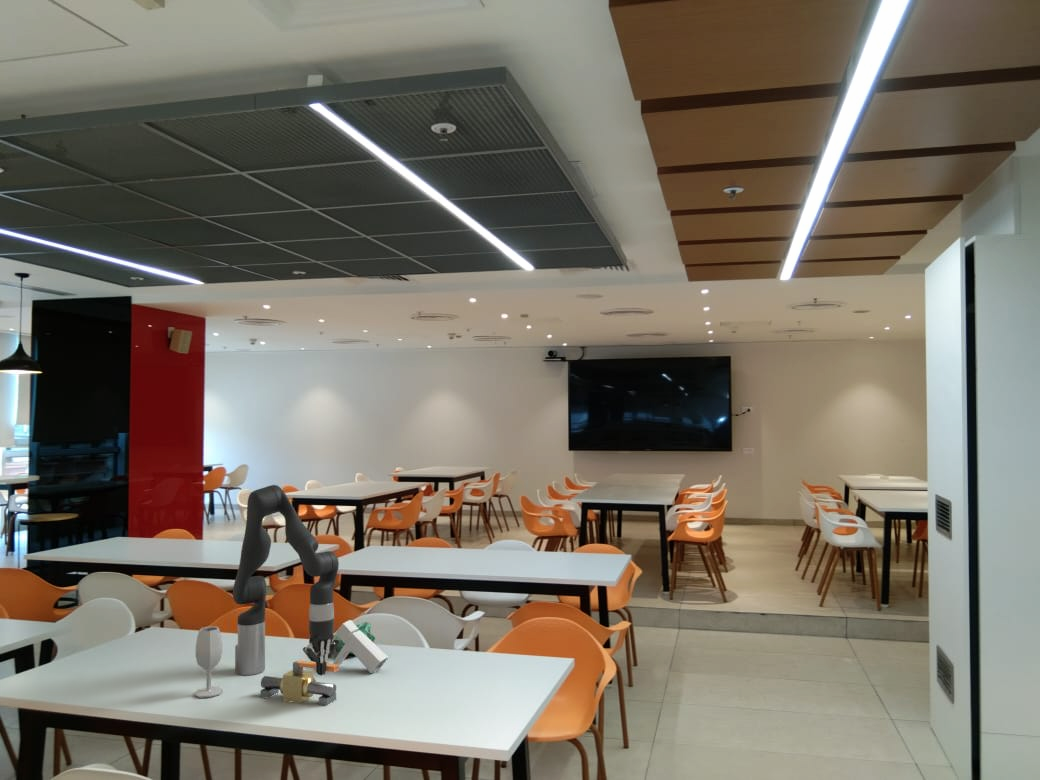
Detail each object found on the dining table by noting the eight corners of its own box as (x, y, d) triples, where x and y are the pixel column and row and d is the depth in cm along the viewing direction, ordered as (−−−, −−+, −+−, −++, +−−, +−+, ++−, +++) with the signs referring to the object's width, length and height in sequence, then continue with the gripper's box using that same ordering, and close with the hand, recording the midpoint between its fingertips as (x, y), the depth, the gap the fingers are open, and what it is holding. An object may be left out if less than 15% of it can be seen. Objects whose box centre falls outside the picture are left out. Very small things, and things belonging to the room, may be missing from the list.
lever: (290, 673, 238) (290, 661, 238) (297, 670, 241) (297, 658, 241) (333, 679, 231) (333, 667, 232) (339, 676, 234) (339, 664, 235)
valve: (258, 697, 240) (258, 672, 240) (270, 691, 246) (270, 666, 246) (327, 706, 231) (327, 680, 232) (338, 699, 237) (338, 674, 237)
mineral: (337, 646, 296) (337, 621, 296) (377, 644, 297) (377, 619, 298) (330, 660, 277) (330, 633, 278) (373, 658, 279) (373, 631, 280)
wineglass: (195, 700, 238) (195, 633, 239) (193, 692, 246) (193, 627, 247) (224, 695, 242) (224, 630, 243) (221, 687, 250) (221, 623, 251)
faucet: (380, 661, 260) (341, 621, 266) (354, 695, 263) (317, 655, 269) (389, 656, 266) (351, 617, 272) (364, 689, 269) (327, 650, 275)
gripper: (312, 623, 225) (312, 682, 224) (346, 614, 236) (346, 670, 235) (296, 620, 229) (296, 678, 228) (330, 611, 240) (329, 666, 239)
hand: (321, 674), depth 231 cm, fingers closed
